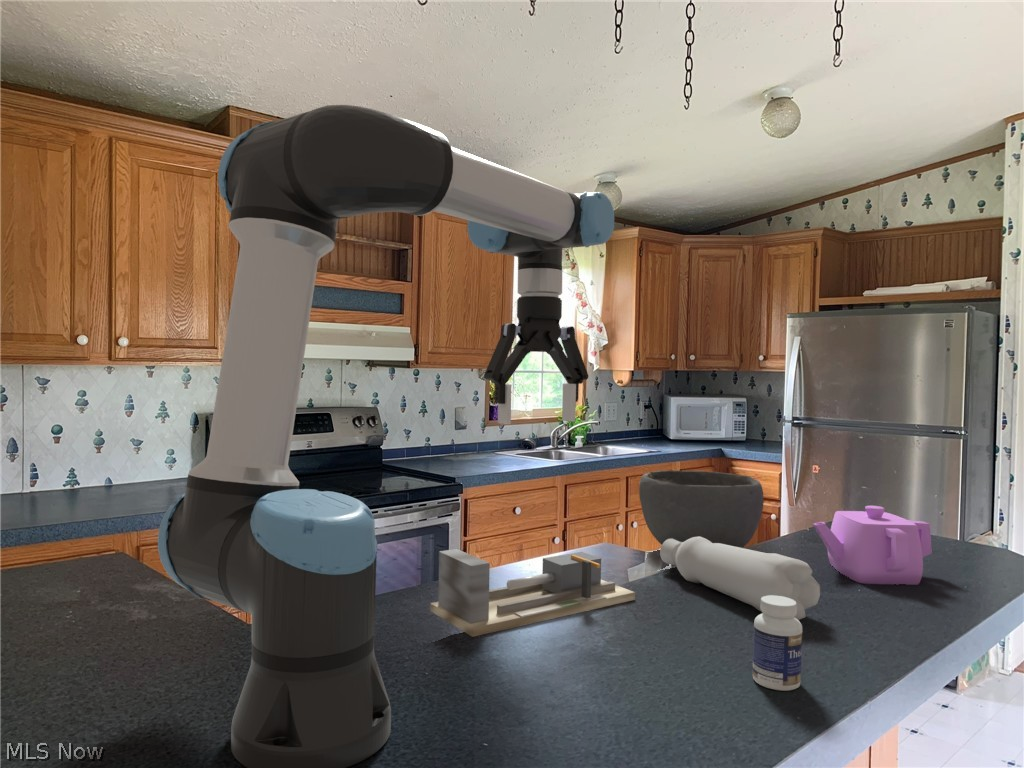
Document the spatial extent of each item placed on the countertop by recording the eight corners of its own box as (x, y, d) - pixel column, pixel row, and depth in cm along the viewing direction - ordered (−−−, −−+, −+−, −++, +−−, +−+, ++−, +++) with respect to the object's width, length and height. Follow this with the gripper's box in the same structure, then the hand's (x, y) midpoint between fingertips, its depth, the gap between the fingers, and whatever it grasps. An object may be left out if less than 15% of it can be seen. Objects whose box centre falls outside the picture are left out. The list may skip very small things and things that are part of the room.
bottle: (833, 596, 110) (697, 554, 136) (809, 548, 107) (675, 515, 134) (796, 638, 106) (664, 586, 133) (770, 589, 104) (641, 547, 131)
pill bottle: (795, 696, 83) (798, 611, 83) (747, 684, 86) (749, 602, 86) (804, 679, 88) (807, 598, 88) (758, 669, 91) (761, 590, 91)
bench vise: (634, 599, 117) (636, 542, 116) (472, 636, 99) (474, 569, 99) (585, 580, 126) (586, 527, 126) (430, 611, 109) (431, 549, 109)
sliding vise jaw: (617, 595, 114) (618, 560, 114) (534, 613, 105) (535, 576, 105) (581, 580, 121) (581, 548, 121) (500, 596, 112) (500, 561, 112)
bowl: (654, 531, 165) (656, 464, 164) (769, 545, 154) (771, 473, 154) (621, 556, 143) (623, 479, 142) (752, 574, 132) (754, 491, 132)
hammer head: (590, 597, 112) (591, 562, 111) (586, 598, 111) (587, 562, 111) (585, 595, 113) (586, 560, 112) (581, 596, 112) (582, 560, 112)
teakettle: (908, 594, 122) (910, 520, 122) (806, 572, 134) (808, 505, 134) (938, 575, 134) (940, 507, 134) (842, 556, 146) (844, 494, 146)
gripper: (581, 302, 134) (579, 418, 135) (464, 293, 120) (462, 423, 121) (609, 299, 128) (607, 421, 129) (489, 290, 114) (487, 427, 115)
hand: (537, 422), depth 125 cm, fingers open, 13 cm apart
